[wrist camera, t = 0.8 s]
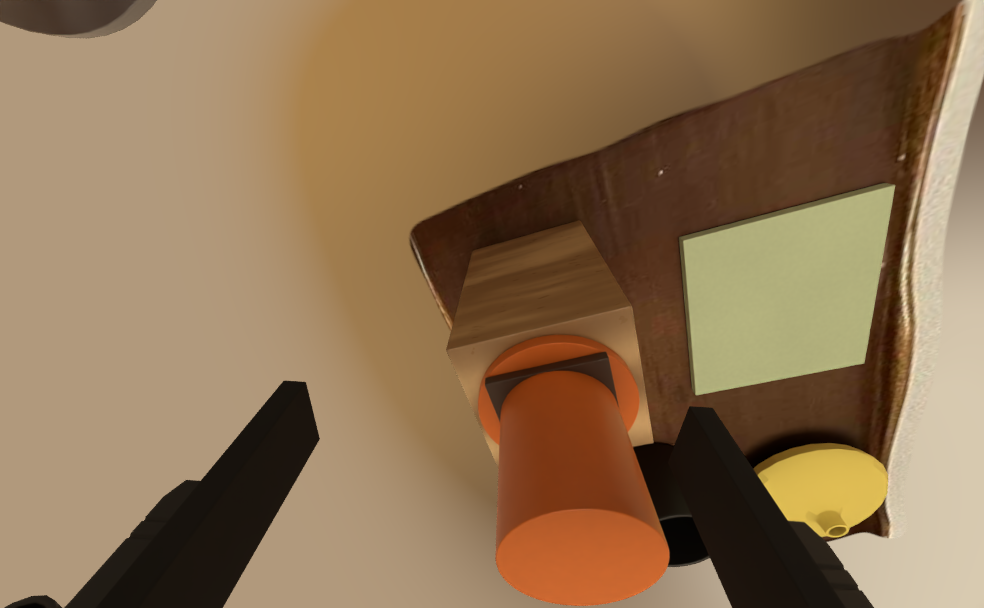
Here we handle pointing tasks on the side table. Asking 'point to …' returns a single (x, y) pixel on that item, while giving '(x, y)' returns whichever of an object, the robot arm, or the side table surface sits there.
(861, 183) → the side table surface
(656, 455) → the mug
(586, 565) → the hat
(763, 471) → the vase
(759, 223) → the mat
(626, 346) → the block
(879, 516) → the side table surface
